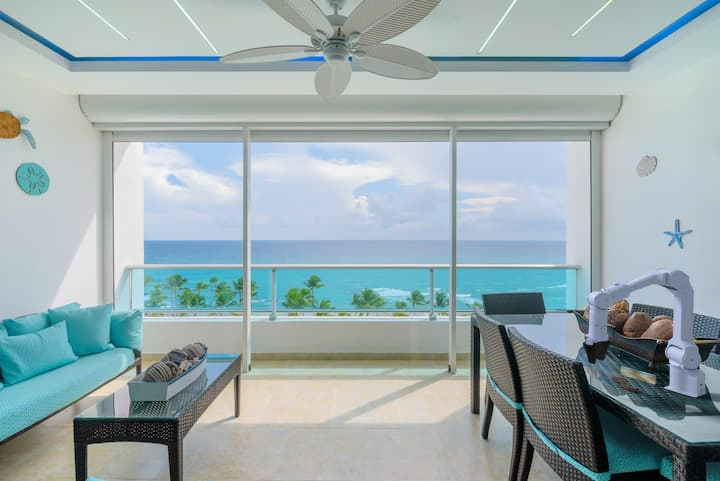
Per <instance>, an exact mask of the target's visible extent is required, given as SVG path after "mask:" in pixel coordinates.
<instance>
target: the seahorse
mask: <svg viewBox="0 0 720 481" xmlns="http://www.w3.org/2000/svg"><path fill="white" fill-rule="evenodd" d="M611 379H612V380H613V381H614V382H616V383H617V384H619V386H620V387H622V388H623V389H626V390H629V391H631V392H635V393H638V394H642V393H643V392H644V391H643V390H642V389H640V388H637V387H635V388H634V387H632V386H630V385H629V384H628V383H629V380H626V379H625V378H623V377H622V376H621V377H620V376H618V375H617V376H616V375H612V377H611Z"/></svg>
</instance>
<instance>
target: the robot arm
mask: <svg viewBox="0 0 720 481" xmlns="http://www.w3.org/2000/svg"><path fill="white" fill-rule="evenodd" d="M653 285H658V286H660V287H662V288H665V289H667V290H668V291H669V292H670V293H671V294H673V318H672V319H673V320H672V321H673V322H672V323H673V325H672V338H670V339H669V340H668V341H667V347H666V348H665V350H664V351H665V352H664V353H665V357H666V358H667V359H668V362H669V385H667V386H664V390H668V391H672V392H675V393H678V394H682V395H684V396H689V397H693V398H695V399H696V398H698V397H701V396H704V395H707V391H706V374H705V372H704V371H703V370H700V369H698V367H700V365H701V362H702V357H701V355H700V353H699V346H697V344H696V343H695V342H694V340H693V337H694V335H693V334H694V333H693V332H694V306H695V305H694V302H695V300H694V299H695V298H694V297H695V290H694V289H693V286H692V285H691V282H690V276H689V275H688V274H687V273H685V272H684V271H682V270H679V269H667V268H663V267H659V268H657V269H654V270H650V271H649V272H647V273H645V274H644V275H640V276H639V277H637V278H635V279H633V280H630V281H629V282H626V283H623V282H613V283H612V285H610V286H607V287H605V288H600V291H597V290H596V291H592V292H590V294H589V295H588V297H586V301H587V303H588V304H589V318H588V320H589V321H588V324H589V325H588V333H586V334H584V336H585V337H587V338H585V341H583V342H582V346H583V349H584V351H585V353H586V358H587V363H588V364H592V365H596V363H597V360H598V361H602V362H604V361H605V359H606V356H607V353H608V351H609V348H610V347H611V345H612V341H610V340H609V334H608V319H609V318H608V317H609V308H611V306H612V305H613V304H615V303H617V302H620V301H623V300H625V299H627V298H629V297H630V296H631V293H633V292H635V291H639V290H641V289H643V288H647V287H649V286H653Z"/></svg>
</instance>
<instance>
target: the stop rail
mask: <svg viewBox="0 0 720 481" xmlns="http://www.w3.org/2000/svg"><path fill="white" fill-rule="evenodd" d="M620 375H621V376H624V377H628V378H631V379H634V380H637V381H641V382H643V383H648V384H651V385H657V375H656V374H653V373H648V372H645V371H641V370H637V369H633V368H631V367H626V366H623V365H622V366H620Z"/></svg>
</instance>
